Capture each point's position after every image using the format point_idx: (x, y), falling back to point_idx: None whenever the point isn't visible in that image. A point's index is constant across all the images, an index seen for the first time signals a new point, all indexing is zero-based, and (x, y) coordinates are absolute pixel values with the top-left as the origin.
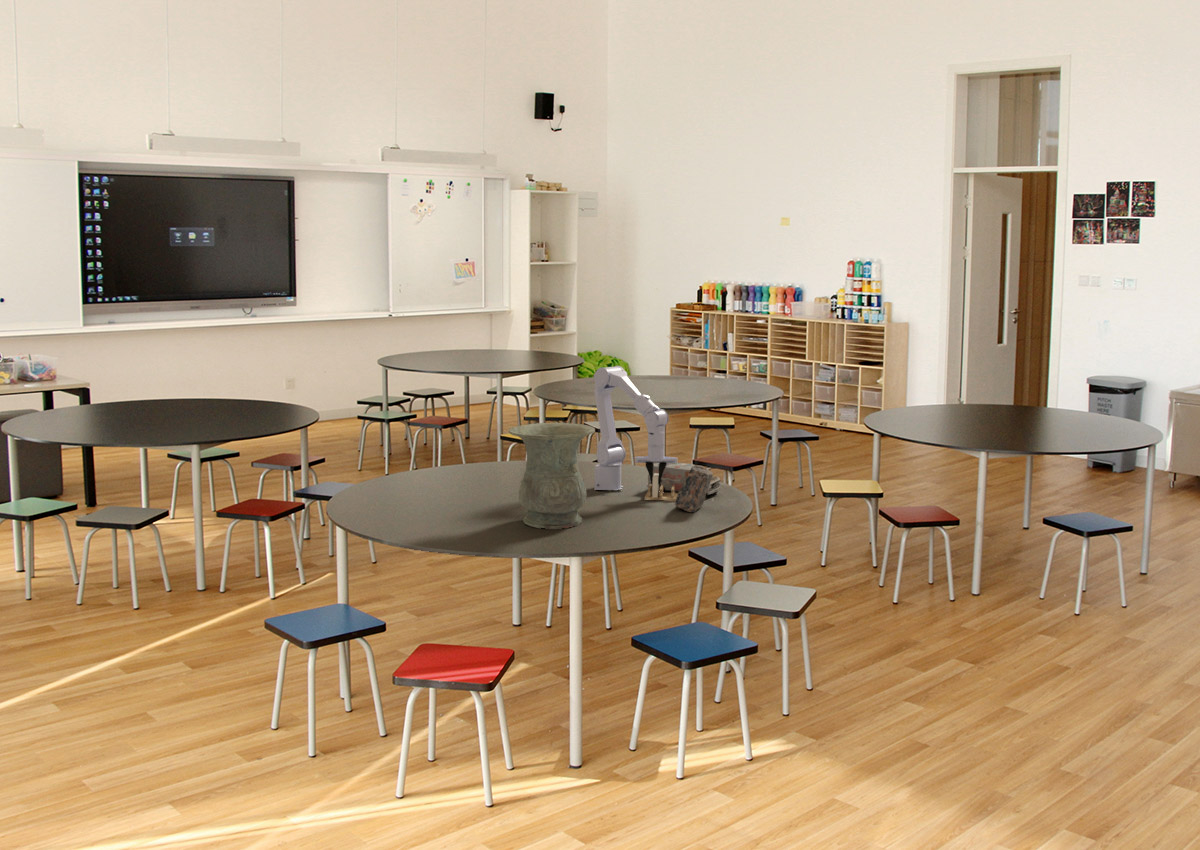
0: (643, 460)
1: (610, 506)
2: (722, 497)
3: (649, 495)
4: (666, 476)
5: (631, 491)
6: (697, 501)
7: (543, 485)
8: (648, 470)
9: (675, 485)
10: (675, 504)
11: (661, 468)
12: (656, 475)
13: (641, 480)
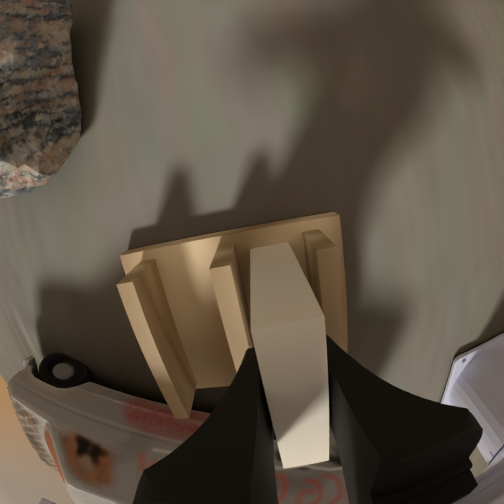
0: (499, 489)
1: (449, 39)
2: None
3: (310, 234)
4: None
5: (412, 383)
6: None
7: None
8: (410, 400)
9: (187, 431)
10: (69, 2)
11: (205, 462)
12: (294, 413)
13: None
